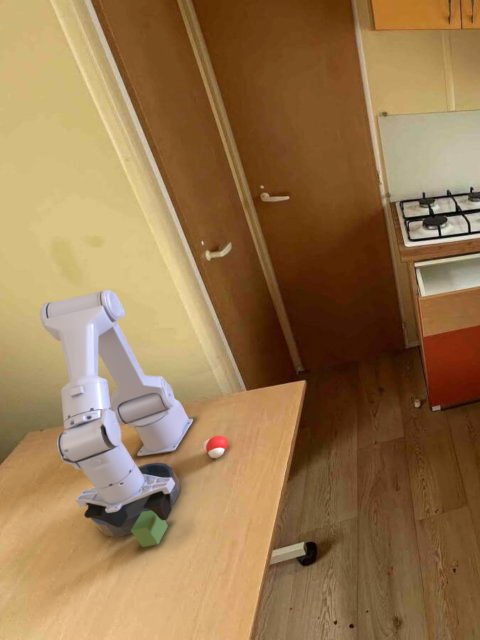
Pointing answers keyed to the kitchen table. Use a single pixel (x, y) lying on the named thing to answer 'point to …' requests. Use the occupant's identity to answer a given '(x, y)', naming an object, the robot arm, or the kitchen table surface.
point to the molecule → (215, 446)
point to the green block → (149, 529)
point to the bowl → (139, 501)
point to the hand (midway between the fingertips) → (145, 518)
